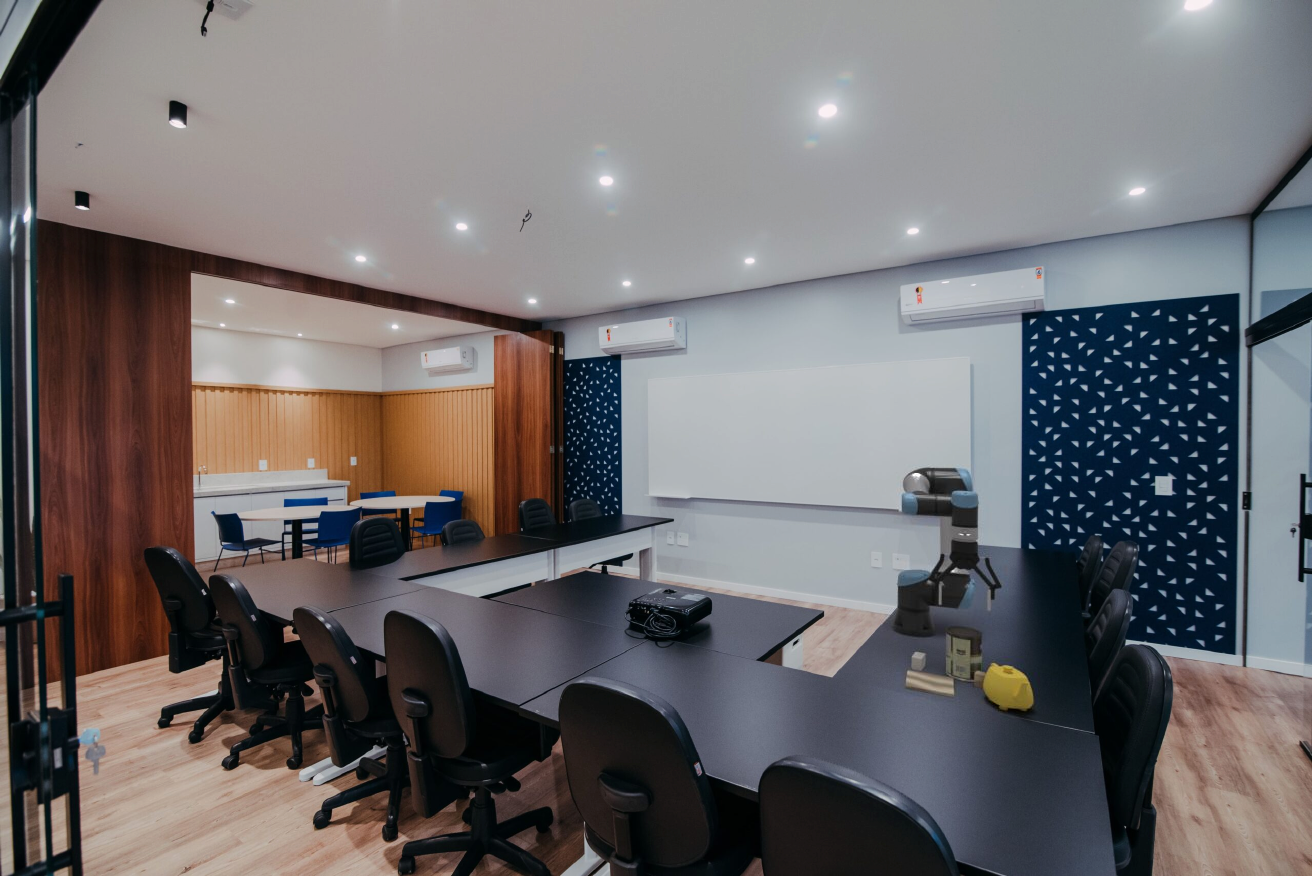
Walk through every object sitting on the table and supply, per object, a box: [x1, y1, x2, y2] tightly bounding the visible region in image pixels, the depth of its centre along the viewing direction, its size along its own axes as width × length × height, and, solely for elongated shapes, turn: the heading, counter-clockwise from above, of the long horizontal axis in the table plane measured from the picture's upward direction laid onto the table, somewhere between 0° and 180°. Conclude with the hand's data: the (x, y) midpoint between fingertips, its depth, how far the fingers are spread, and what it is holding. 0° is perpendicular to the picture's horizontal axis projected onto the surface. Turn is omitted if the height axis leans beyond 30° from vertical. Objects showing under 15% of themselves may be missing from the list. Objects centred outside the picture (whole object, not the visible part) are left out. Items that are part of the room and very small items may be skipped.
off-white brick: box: [911, 651, 926, 672], centre depth 186 cm, size 6×3×4 cm, turn 143°
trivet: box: [904, 669, 955, 698], centre depth 173 cm, size 13×13×1 cm
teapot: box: [982, 662, 1034, 712], centre depth 159 cm, size 18×11×11 cm, turn 177°
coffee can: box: [945, 625, 983, 683], centre depth 180 cm, size 10×10×14 cm
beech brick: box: [973, 671, 987, 689], centre depth 171 cm, size 6×3×4 cm, turn 43°
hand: (964, 606), depth 180 cm, fingers open, 13 cm apart
